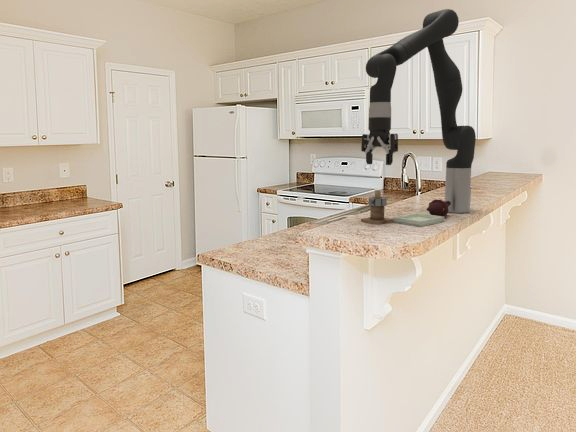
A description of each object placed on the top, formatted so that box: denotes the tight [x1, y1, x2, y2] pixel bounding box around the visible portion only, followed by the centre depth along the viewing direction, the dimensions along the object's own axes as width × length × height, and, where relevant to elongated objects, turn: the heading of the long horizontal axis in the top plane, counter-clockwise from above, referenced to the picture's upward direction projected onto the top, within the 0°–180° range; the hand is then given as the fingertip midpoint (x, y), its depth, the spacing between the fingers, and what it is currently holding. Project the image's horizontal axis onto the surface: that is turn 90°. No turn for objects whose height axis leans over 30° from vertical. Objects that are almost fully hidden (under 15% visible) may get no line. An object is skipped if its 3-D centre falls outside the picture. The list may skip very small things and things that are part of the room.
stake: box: [360, 189, 394, 226], centre depth 162 cm, size 8×8×11 cm
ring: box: [368, 196, 388, 207], centre depth 162 cm, size 8×6×2 cm
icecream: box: [425, 199, 451, 217], centre depth 170 cm, size 7×7×15 cm
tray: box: [392, 212, 445, 228], centre depth 161 cm, size 14×12×2 cm
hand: (378, 164), depth 160 cm, fingers open, 8 cm apart
